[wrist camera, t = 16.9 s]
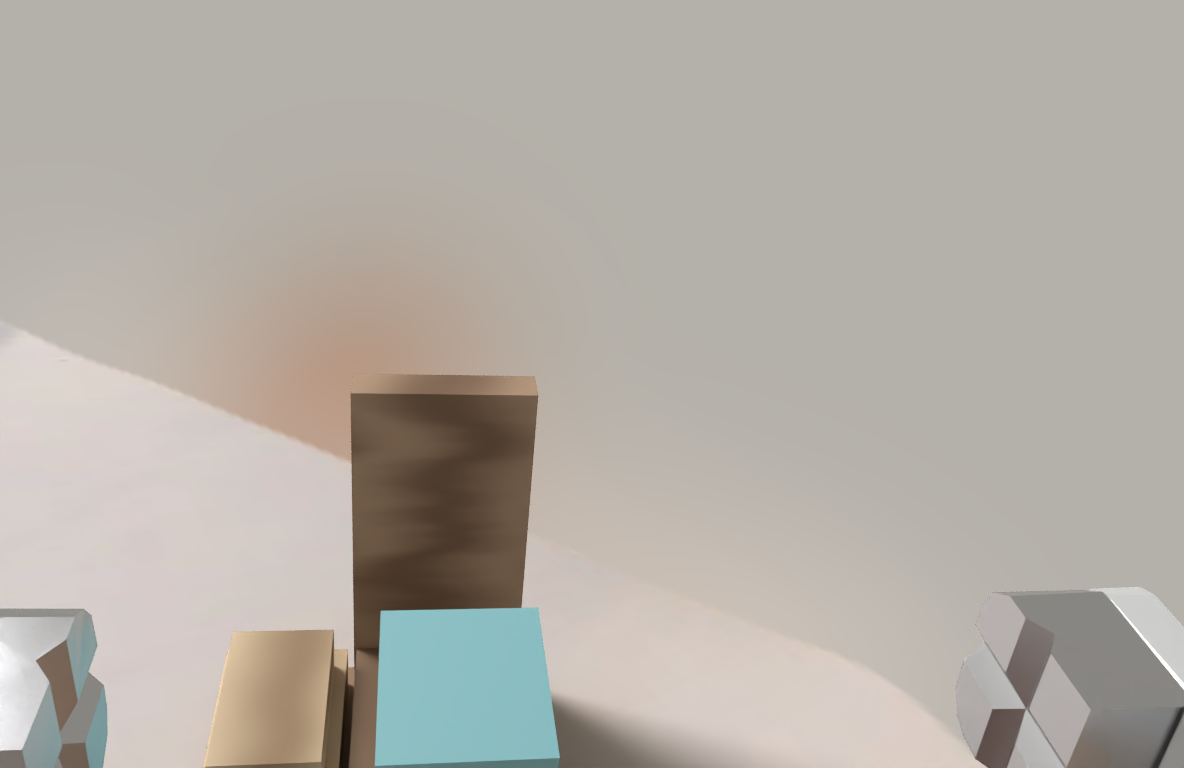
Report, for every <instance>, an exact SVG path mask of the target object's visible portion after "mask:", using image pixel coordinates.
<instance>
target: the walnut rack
mask: <svg viewBox="0 0 1184 768" xmlns="http://www.w3.org/2000/svg"><path fill="white" fill-rule="evenodd" d="M537 403H538V392H537V387H536V382H535V377H533V376H469V375H466V376H465V375H464V376H463V375H400V374H399V375H398V374H353V376H352V385H351V444H352V445H351V446H352V447H351V449H352V520H353V592H354V663H355V667H353V668H348V696H347V710H346V724H345V737H344V751H343V765H342V768H375V749H376V722H377V696H378V669H379V643H380V616H381V611H395V610H444V609H492V608H521V605H522V593H523V580H524V568H525V555H526V542H527V530H528V517H529V503H530V491H531V477H532V465H533V454H534V440H535V428H536V415H537Z"/></svg>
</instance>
